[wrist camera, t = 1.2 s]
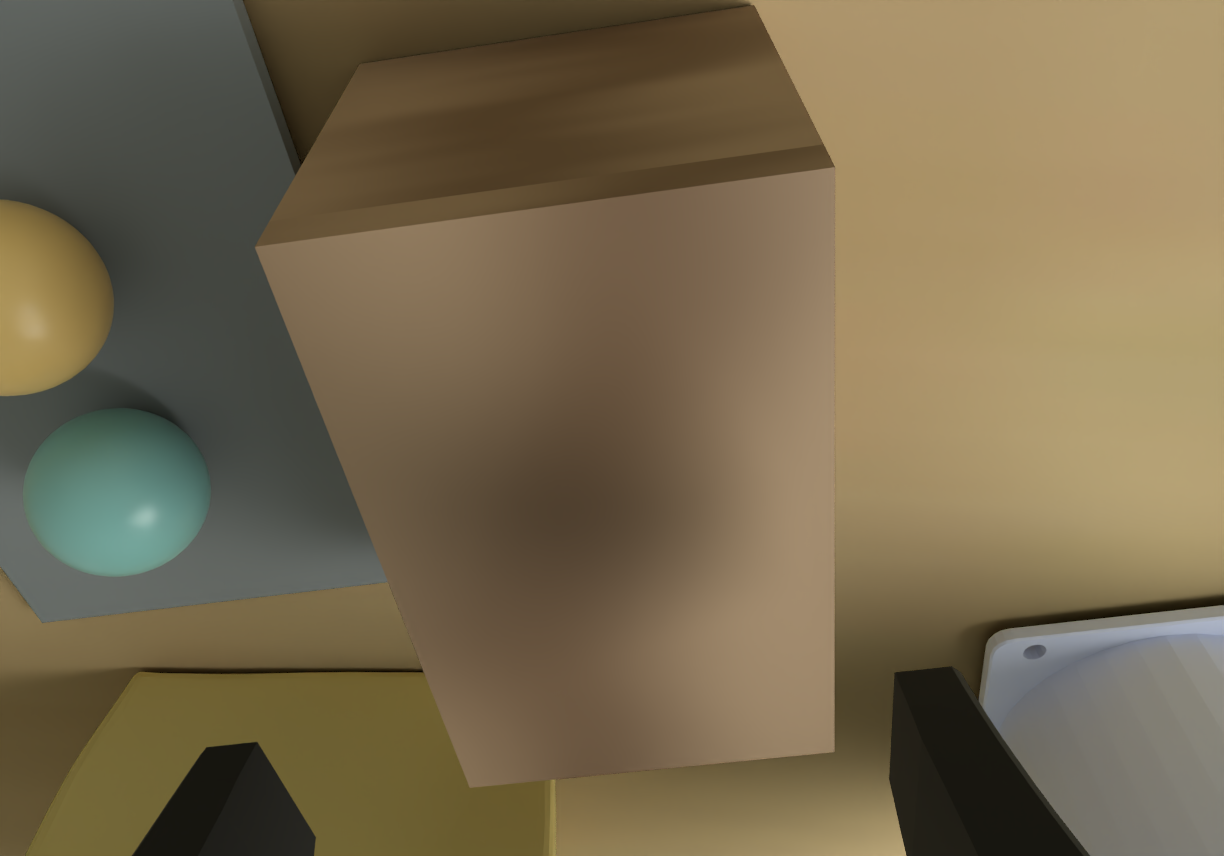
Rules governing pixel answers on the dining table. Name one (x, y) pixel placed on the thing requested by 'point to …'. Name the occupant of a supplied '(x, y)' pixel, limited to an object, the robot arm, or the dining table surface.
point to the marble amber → (48, 300)
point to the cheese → (297, 767)
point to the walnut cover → (585, 386)
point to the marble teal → (116, 492)
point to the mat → (172, 294)
